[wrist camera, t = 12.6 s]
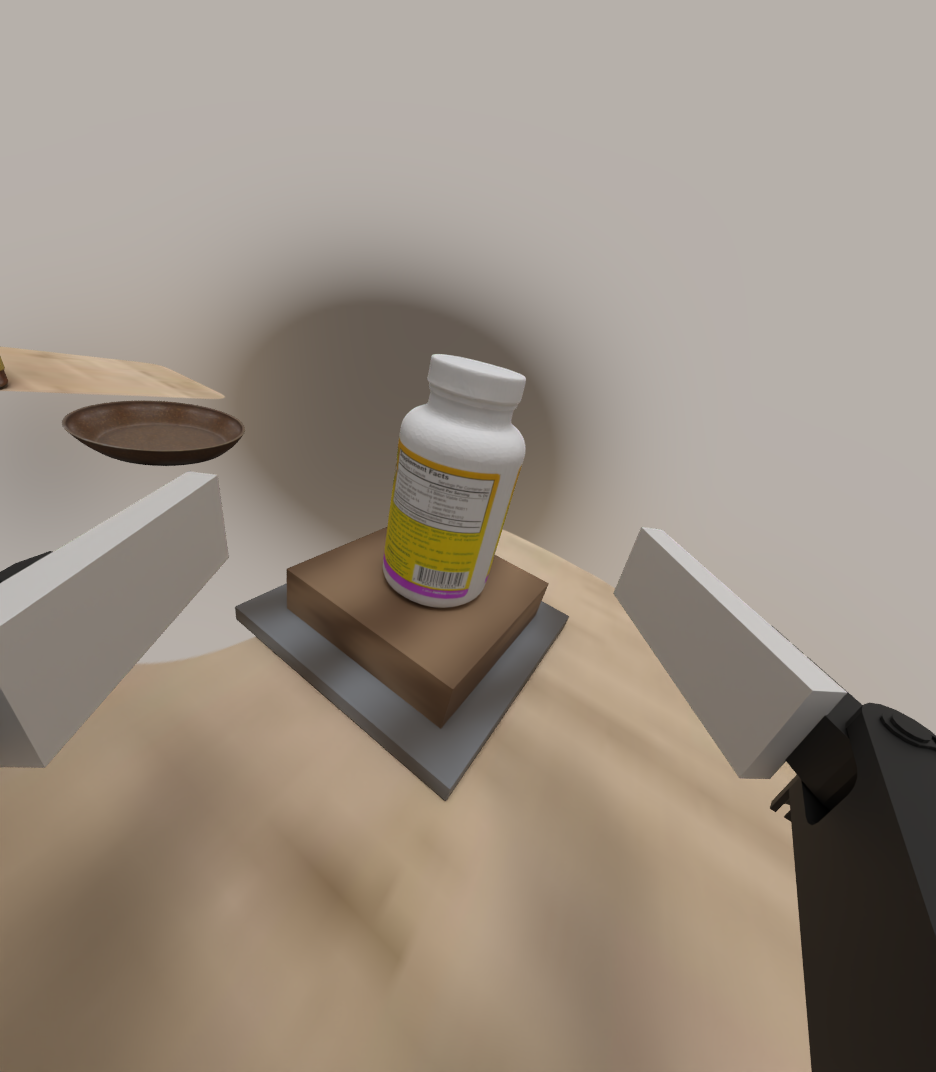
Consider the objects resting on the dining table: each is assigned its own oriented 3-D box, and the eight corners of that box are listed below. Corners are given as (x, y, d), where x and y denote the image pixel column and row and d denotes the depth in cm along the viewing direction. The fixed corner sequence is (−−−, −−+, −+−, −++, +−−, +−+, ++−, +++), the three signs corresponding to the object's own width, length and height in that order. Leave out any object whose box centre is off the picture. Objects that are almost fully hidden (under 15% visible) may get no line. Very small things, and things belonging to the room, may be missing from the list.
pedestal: (236, 619, 24) (231, 565, 22) (408, 537, 36) (414, 498, 34) (445, 801, 17) (465, 749, 15) (564, 626, 30) (583, 585, 28)
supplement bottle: (436, 540, 29) (476, 355, 23) (503, 589, 25) (572, 388, 19) (358, 565, 24) (382, 341, 18) (428, 629, 21) (487, 380, 15)
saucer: (195, 488, 36) (191, 460, 34) (21, 453, 34) (10, 422, 33) (269, 442, 49) (268, 420, 47) (145, 415, 47) (141, 392, 46)
